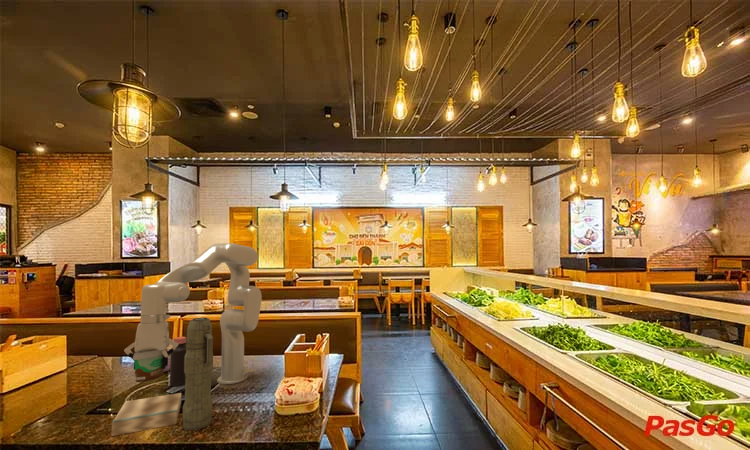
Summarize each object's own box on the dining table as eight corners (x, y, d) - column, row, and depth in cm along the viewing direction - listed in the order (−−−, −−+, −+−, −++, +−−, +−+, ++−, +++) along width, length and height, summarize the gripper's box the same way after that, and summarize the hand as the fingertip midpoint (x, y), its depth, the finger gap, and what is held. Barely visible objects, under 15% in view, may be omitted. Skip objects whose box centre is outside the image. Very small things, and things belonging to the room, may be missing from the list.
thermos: (200, 433, 113) (202, 322, 115) (173, 427, 117) (176, 320, 120) (221, 420, 121) (223, 317, 124) (195, 415, 125) (197, 315, 128)
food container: (148, 384, 119) (148, 353, 119) (132, 383, 120) (132, 353, 120) (174, 371, 131) (174, 343, 131) (160, 371, 132) (159, 343, 132)
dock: (181, 403, 136) (181, 392, 136) (176, 424, 119) (176, 410, 119) (125, 412, 128) (125, 400, 129) (111, 436, 112) (111, 421, 112)
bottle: (190, 381, 159) (191, 336, 161) (180, 387, 152) (182, 339, 154) (176, 381, 160) (177, 336, 161) (166, 386, 153) (167, 339, 155)
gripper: (181, 315, 133) (180, 363, 132) (126, 319, 126) (124, 370, 125) (179, 318, 126) (178, 369, 125) (121, 323, 119) (118, 376, 118)
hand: (151, 369), depth 125 cm, fingers closed on food container, 7 cm apart
